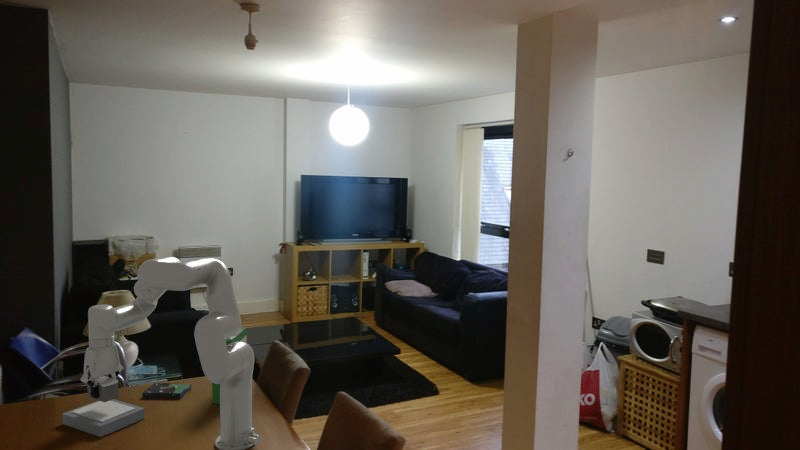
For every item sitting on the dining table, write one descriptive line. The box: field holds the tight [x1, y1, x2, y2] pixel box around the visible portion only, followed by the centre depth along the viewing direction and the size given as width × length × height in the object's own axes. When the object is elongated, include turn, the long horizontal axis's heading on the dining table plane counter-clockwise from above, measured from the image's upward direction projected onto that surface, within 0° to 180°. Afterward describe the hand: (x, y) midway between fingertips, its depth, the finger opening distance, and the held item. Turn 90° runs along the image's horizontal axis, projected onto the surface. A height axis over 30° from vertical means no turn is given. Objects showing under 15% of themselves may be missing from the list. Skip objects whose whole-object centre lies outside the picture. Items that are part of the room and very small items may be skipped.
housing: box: [86, 375, 119, 402], centre depth 185 cm, size 5×9×6 cm, turn 63°
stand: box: [61, 399, 146, 438], centre depth 186 cm, size 20×16×4 cm
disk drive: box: [141, 382, 192, 400], centre depth 211 cm, size 10×3×15 cm
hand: (103, 394), depth 185 cm, fingers closed on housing, 5 cm apart
